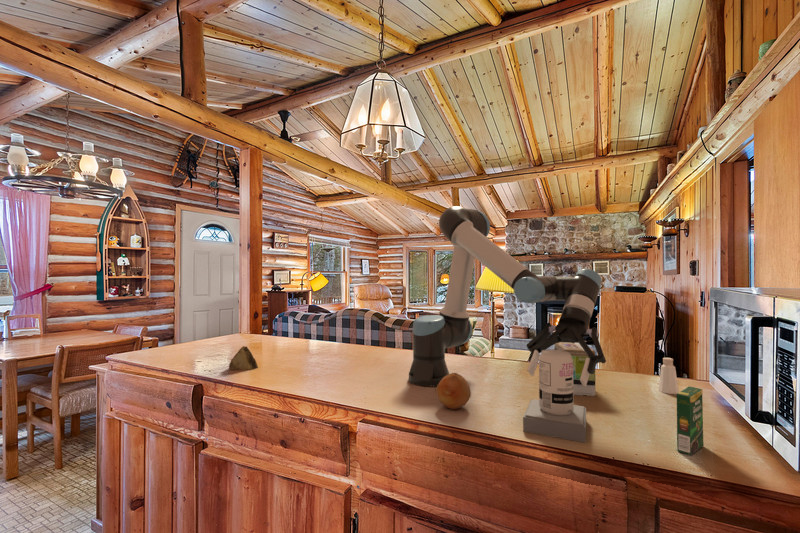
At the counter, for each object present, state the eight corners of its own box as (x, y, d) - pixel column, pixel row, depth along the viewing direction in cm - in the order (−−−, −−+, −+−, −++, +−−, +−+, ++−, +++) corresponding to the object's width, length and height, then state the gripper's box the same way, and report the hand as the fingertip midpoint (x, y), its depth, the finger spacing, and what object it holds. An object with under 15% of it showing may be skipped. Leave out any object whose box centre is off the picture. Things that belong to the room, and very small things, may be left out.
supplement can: (543, 402, 102) (543, 347, 102) (576, 409, 97) (576, 351, 97) (535, 411, 95) (535, 353, 96) (570, 419, 91) (569, 357, 91)
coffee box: (691, 457, 80) (690, 395, 80) (676, 451, 82) (675, 392, 82) (704, 446, 85) (703, 388, 85) (689, 442, 87) (688, 385, 87)
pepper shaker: (657, 388, 127) (657, 355, 127) (677, 390, 124) (677, 357, 124) (659, 392, 122) (658, 359, 122) (679, 395, 119) (679, 361, 119)
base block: (523, 431, 93) (523, 415, 93) (531, 412, 106) (531, 398, 106) (585, 442, 87) (585, 425, 87) (586, 421, 99) (586, 406, 99)
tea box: (597, 396, 119) (596, 350, 119) (563, 395, 121) (562, 349, 121) (583, 383, 133) (583, 341, 133) (553, 381, 135) (553, 340, 136)
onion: (435, 401, 115) (435, 369, 115) (468, 402, 115) (467, 369, 115) (437, 413, 105) (437, 378, 105) (473, 414, 105) (472, 378, 105)
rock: (220, 364, 154) (235, 364, 148) (231, 346, 159) (245, 345, 153) (241, 375, 160) (255, 376, 155) (250, 357, 165) (264, 357, 160)
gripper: (628, 326, 100) (612, 396, 89) (538, 318, 117) (515, 376, 107) (622, 308, 96) (604, 379, 85) (530, 303, 114) (506, 361, 103)
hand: (555, 377), depth 96 cm, fingers open, 13 cm apart
